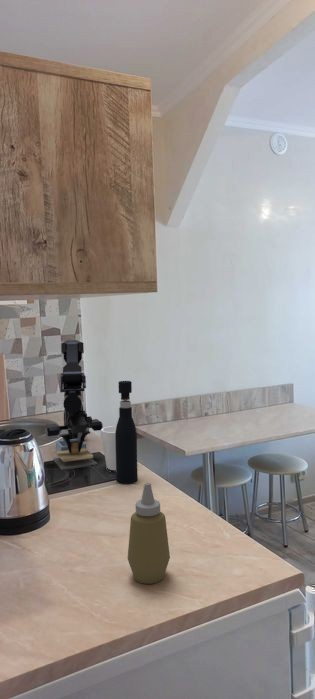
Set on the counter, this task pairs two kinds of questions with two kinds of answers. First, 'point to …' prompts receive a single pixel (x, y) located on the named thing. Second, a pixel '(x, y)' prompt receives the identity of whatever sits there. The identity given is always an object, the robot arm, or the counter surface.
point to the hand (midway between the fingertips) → (74, 452)
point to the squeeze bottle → (148, 540)
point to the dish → (62, 445)
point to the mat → (74, 463)
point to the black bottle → (126, 439)
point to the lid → (74, 453)
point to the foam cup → (109, 446)
